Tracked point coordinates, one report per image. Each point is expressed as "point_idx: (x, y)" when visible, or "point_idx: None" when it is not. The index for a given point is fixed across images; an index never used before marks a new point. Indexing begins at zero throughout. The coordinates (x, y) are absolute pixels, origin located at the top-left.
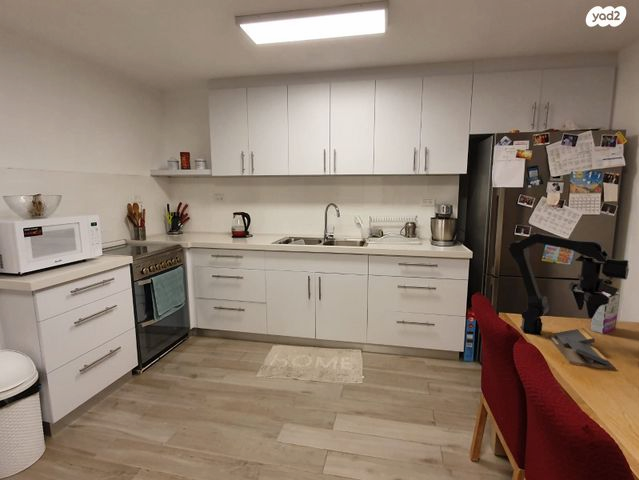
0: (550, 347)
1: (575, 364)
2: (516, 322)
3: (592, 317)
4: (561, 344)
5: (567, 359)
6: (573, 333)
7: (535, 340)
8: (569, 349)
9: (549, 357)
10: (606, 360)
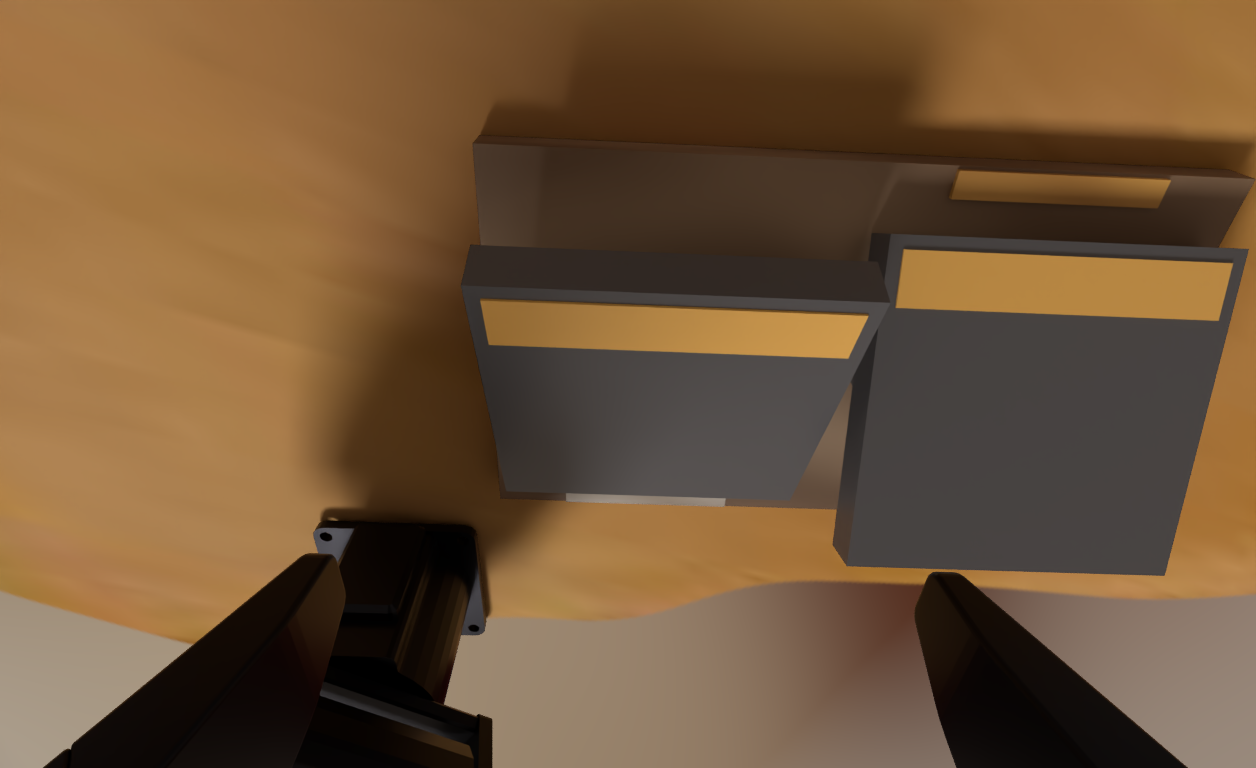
0: (748, 529)
1: None
2: (220, 618)
3: (971, 589)
4: None
5: None
6: (597, 400)
7: (622, 586)
8: (833, 443)
9: None
10: (1238, 283)
